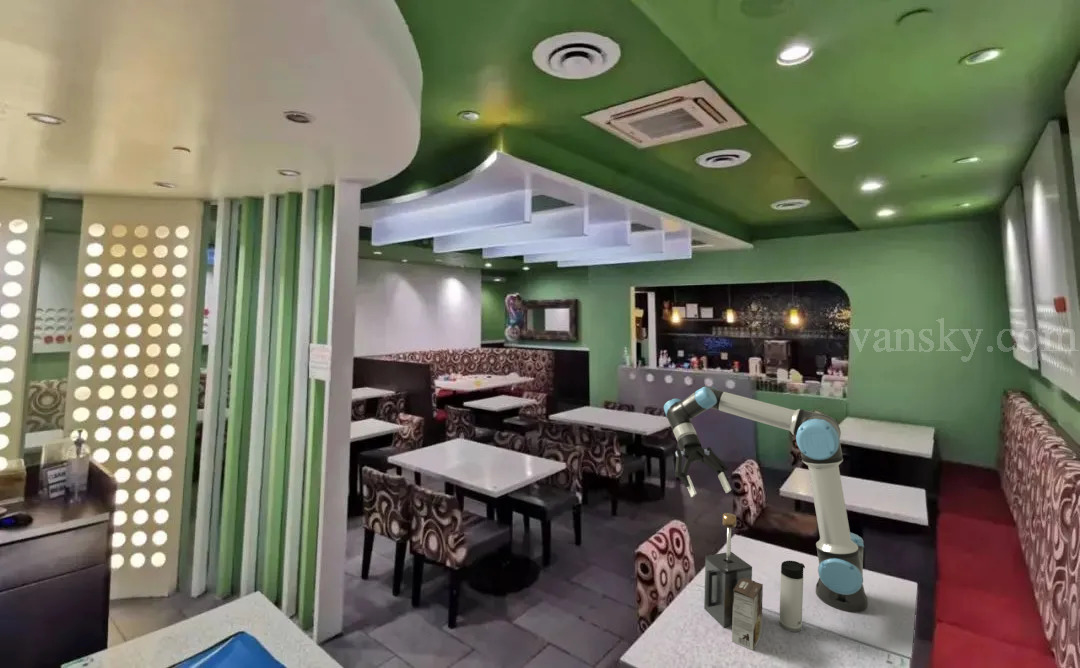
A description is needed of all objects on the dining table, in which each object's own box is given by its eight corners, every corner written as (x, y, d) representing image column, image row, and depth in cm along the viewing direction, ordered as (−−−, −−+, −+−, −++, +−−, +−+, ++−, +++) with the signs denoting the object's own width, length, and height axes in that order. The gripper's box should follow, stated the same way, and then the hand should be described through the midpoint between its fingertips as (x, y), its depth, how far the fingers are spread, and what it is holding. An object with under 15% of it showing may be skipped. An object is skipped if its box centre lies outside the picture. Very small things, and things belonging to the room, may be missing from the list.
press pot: (729, 603, 163) (731, 551, 162) (750, 622, 153) (752, 566, 152) (697, 610, 159) (698, 556, 158) (716, 629, 150) (718, 572, 149)
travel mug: (805, 633, 148) (807, 570, 147) (782, 630, 149) (784, 567, 148) (799, 621, 154) (801, 559, 153) (776, 618, 155) (778, 557, 154)
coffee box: (740, 626, 151) (741, 576, 151) (762, 635, 147) (763, 583, 146) (730, 641, 144) (732, 588, 143) (753, 651, 140) (755, 597, 139)
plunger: (729, 579, 161) (731, 509, 160) (745, 592, 154) (747, 519, 153) (710, 582, 159) (711, 512, 158) (725, 595, 152) (727, 521, 150)
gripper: (711, 441, 183) (737, 494, 169) (652, 445, 176) (674, 501, 162) (721, 430, 178) (748, 485, 164) (660, 435, 171) (683, 492, 157)
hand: (711, 493), depth 163 cm, fingers open, 13 cm apart
